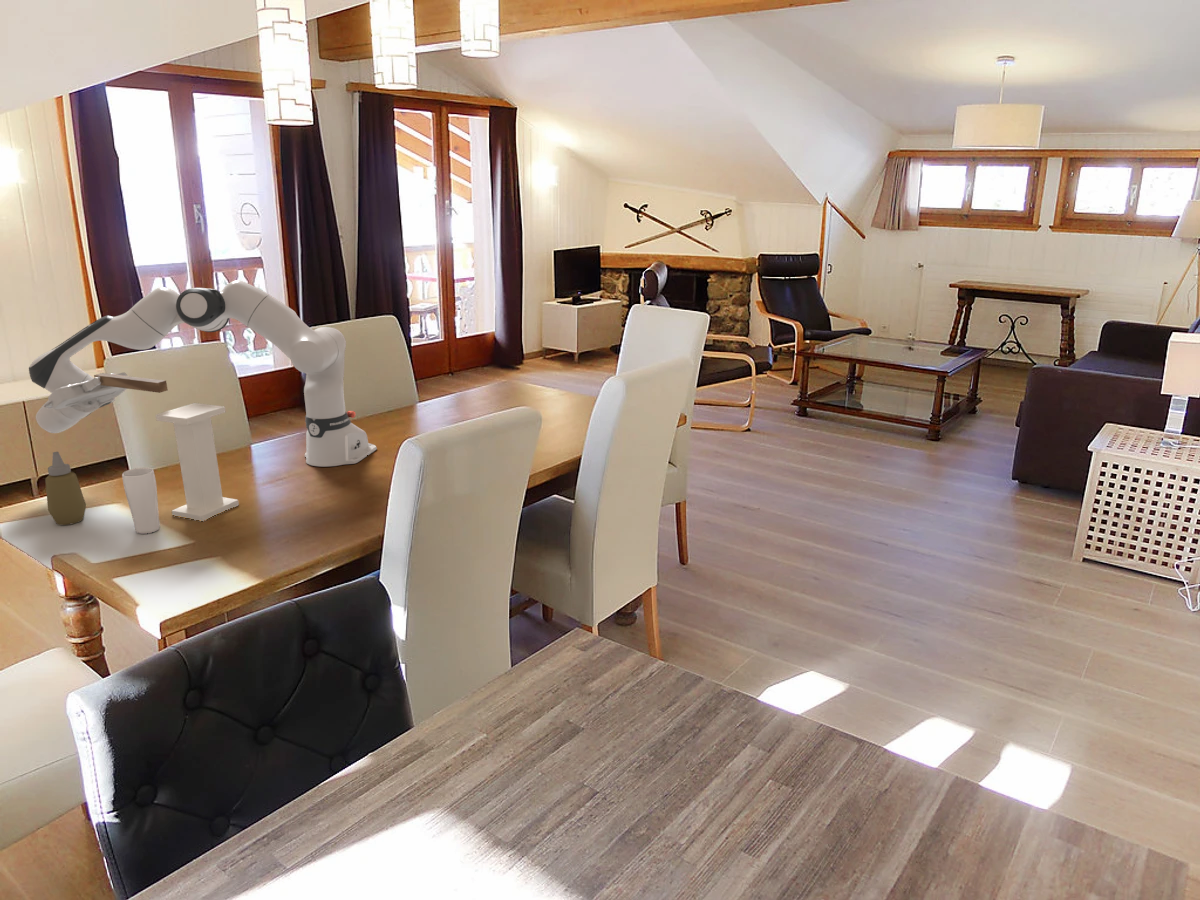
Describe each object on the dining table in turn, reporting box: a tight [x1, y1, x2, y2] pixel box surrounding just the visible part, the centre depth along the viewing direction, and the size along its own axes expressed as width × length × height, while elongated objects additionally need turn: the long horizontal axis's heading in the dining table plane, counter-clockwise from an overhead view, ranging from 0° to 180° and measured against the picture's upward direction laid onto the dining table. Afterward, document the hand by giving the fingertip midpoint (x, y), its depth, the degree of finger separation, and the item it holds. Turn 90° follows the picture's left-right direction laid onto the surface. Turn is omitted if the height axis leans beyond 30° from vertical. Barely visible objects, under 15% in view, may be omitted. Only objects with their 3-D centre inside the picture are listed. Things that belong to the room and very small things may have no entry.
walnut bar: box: [93, 372, 168, 393], centre depth 217 cm, size 2×22×2 cm, turn 68°
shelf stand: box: [155, 402, 240, 522], centre depth 216 cm, size 12×10×26 cm
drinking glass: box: [121, 467, 161, 535], centre depth 205 cm, size 7×7×15 cm
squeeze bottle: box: [44, 451, 87, 526], centre depth 211 cm, size 8×8×18 cm
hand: (106, 377), depth 220 cm, fingers closed on walnut bar, 2 cm apart
